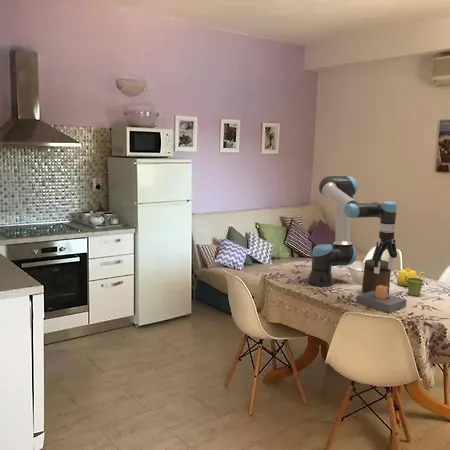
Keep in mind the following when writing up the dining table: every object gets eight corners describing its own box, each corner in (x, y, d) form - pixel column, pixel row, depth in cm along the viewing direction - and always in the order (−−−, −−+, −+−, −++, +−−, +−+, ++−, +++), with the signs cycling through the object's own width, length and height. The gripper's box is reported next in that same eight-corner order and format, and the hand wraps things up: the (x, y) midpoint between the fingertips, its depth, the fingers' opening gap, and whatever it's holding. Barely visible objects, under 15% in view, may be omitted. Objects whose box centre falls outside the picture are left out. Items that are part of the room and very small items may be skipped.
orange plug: (374, 302, 276) (375, 286, 274) (379, 301, 279) (380, 284, 277) (382, 304, 272) (383, 288, 271) (386, 303, 275) (388, 286, 274)
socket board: (356, 302, 278) (356, 295, 277) (373, 297, 288) (373, 290, 288) (389, 312, 263) (389, 305, 262) (405, 306, 273) (406, 299, 273)
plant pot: (424, 293, 297) (425, 279, 296) (421, 298, 289) (422, 283, 288) (407, 290, 302) (408, 276, 300) (403, 295, 294) (405, 280, 292)
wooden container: (391, 292, 299) (395, 255, 295) (384, 298, 286) (387, 260, 283) (366, 287, 307) (369, 251, 303) (358, 293, 294) (361, 256, 290)
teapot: (410, 281, 322) (411, 265, 320) (424, 287, 310) (425, 270, 308) (391, 282, 318) (392, 266, 316) (404, 288, 306) (405, 272, 304)
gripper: (379, 235, 258) (376, 276, 262) (406, 230, 274) (402, 269, 278) (367, 232, 264) (363, 273, 267) (393, 227, 280) (390, 266, 283)
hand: (383, 271), depth 273 cm, fingers open, 12 cm apart
